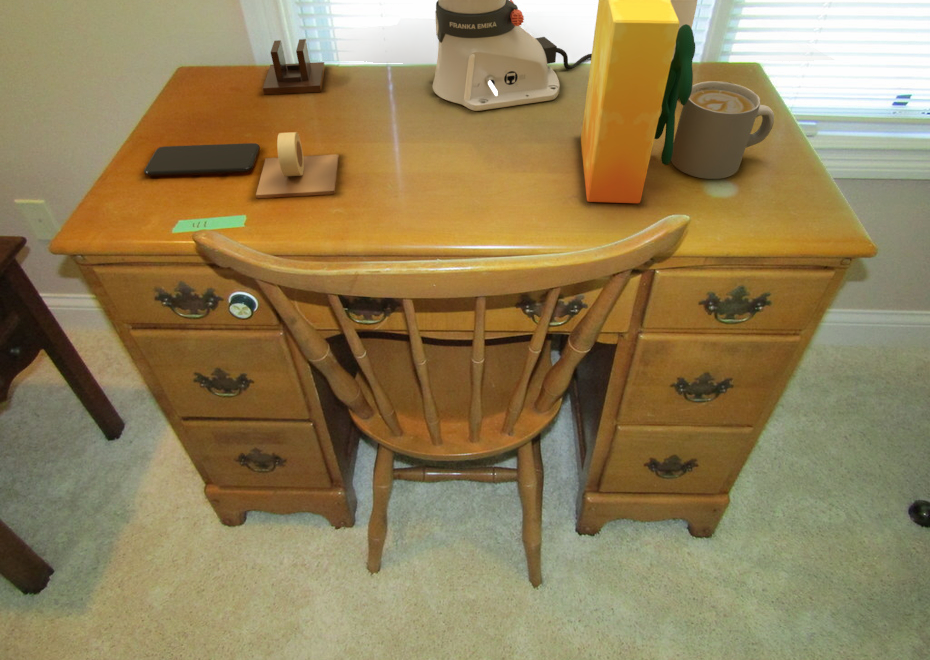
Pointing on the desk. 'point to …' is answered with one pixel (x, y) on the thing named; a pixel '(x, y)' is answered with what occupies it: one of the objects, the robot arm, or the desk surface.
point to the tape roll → (290, 154)
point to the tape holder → (293, 72)
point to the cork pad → (299, 178)
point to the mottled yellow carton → (632, 94)
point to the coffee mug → (718, 129)
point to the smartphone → (202, 159)
